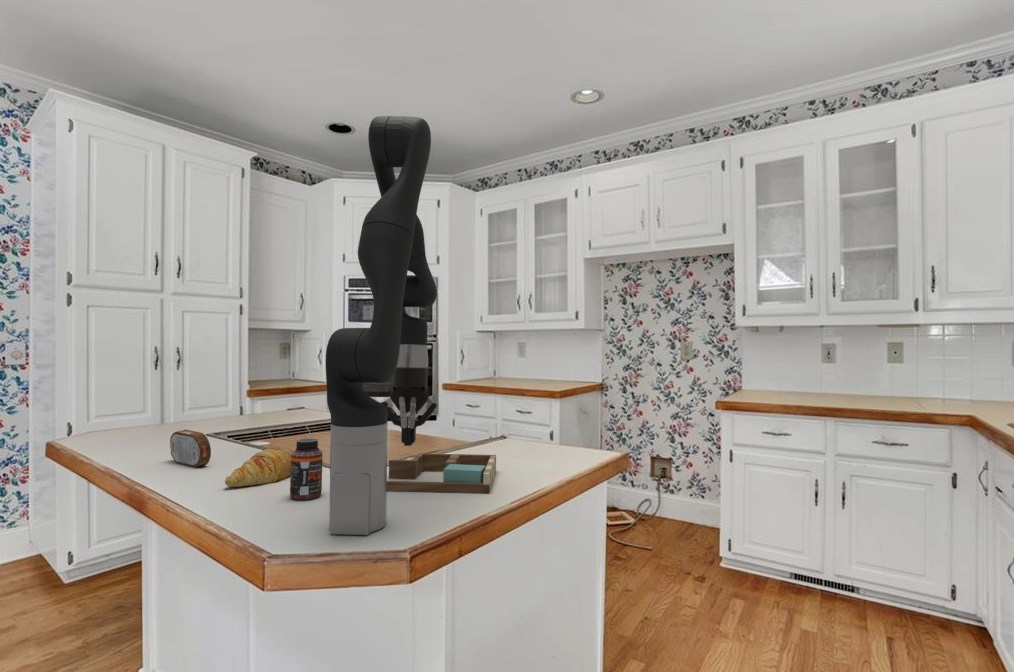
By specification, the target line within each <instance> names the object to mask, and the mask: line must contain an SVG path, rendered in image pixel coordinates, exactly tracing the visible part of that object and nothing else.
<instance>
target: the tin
mask: <svg viewBox="0 0 1014 672" xmlns="http://www.w3.org/2000/svg"><path fill="white" fill-rule="evenodd" d="M169 442H170V443H169V445H170V456H171V458H172V459H173V460H174V461H175V462H176V464H179V465H184V466H187V467H192V468H198V467H203V466H207V465H208V464H209V462H210V460H211V455H212V453H211V452H212V448H211V444H210V440H209V438H208V437H207V436H206V434H205V433H203V432H200V431H195V430H190V429H182V430H178V431H175V432H172V434H171V436H170V438H169Z"/></svg>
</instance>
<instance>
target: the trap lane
mask: <svg viewBox="0 0 1014 672" xmlns="http://www.w3.org/2000/svg"><path fill="white" fill-rule="evenodd" d="M449 464H460V465H482V466H486V469H485V471H484V474H483V483H458V482H443V481H414V480H416V479H417V478H418V477H419V476H420V474H421V473H422V472H437V471H444V468H446V467H447V466H448V465H449ZM496 472H497V455H496V454H472V453H471V454H469V453H468V454H463V453H462V454H461V453H460V454H459V453H418V454H417V455H415V456H414V457H413V458H412V459H389V460H388V479H389V478H390V480H387V492H402V493H403V492H408V493H415V492H416V493H446V492H447V493H448V494H449V493H450V494H452V493H454V494H456V493H457V494H490V492H491V489H492V488H491V487H492V485H493V481H494V479H495V475H496ZM391 478H392V479H393V480H391ZM395 479H396V480H395ZM399 480H401V481H399ZM403 480H404V481H403ZM407 480H408V481H407ZM409 480H410V481H409ZM411 480H413V481H411Z"/></svg>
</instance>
